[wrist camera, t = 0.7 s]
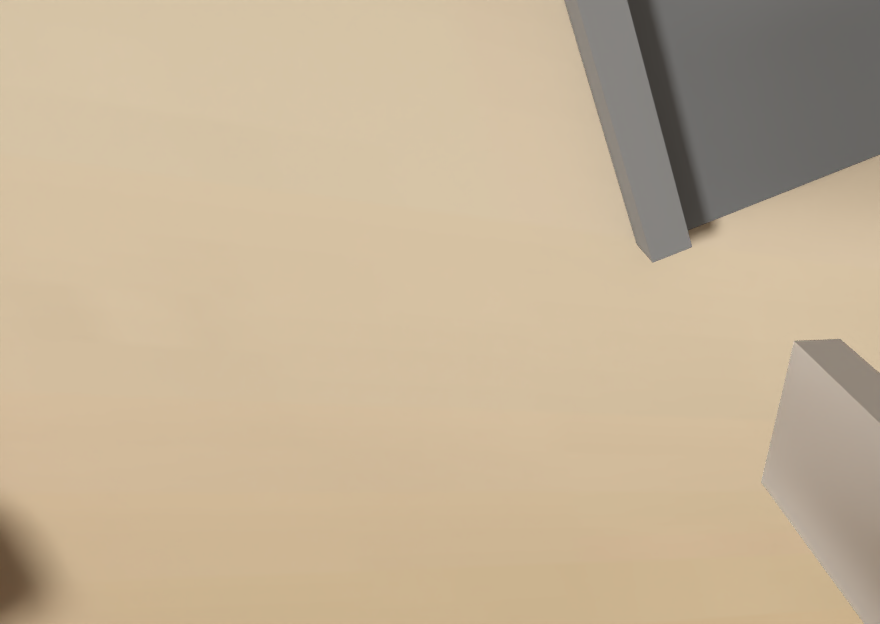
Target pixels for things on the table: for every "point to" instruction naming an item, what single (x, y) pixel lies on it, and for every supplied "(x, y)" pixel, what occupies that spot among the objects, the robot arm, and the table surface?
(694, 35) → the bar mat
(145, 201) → the table surface
